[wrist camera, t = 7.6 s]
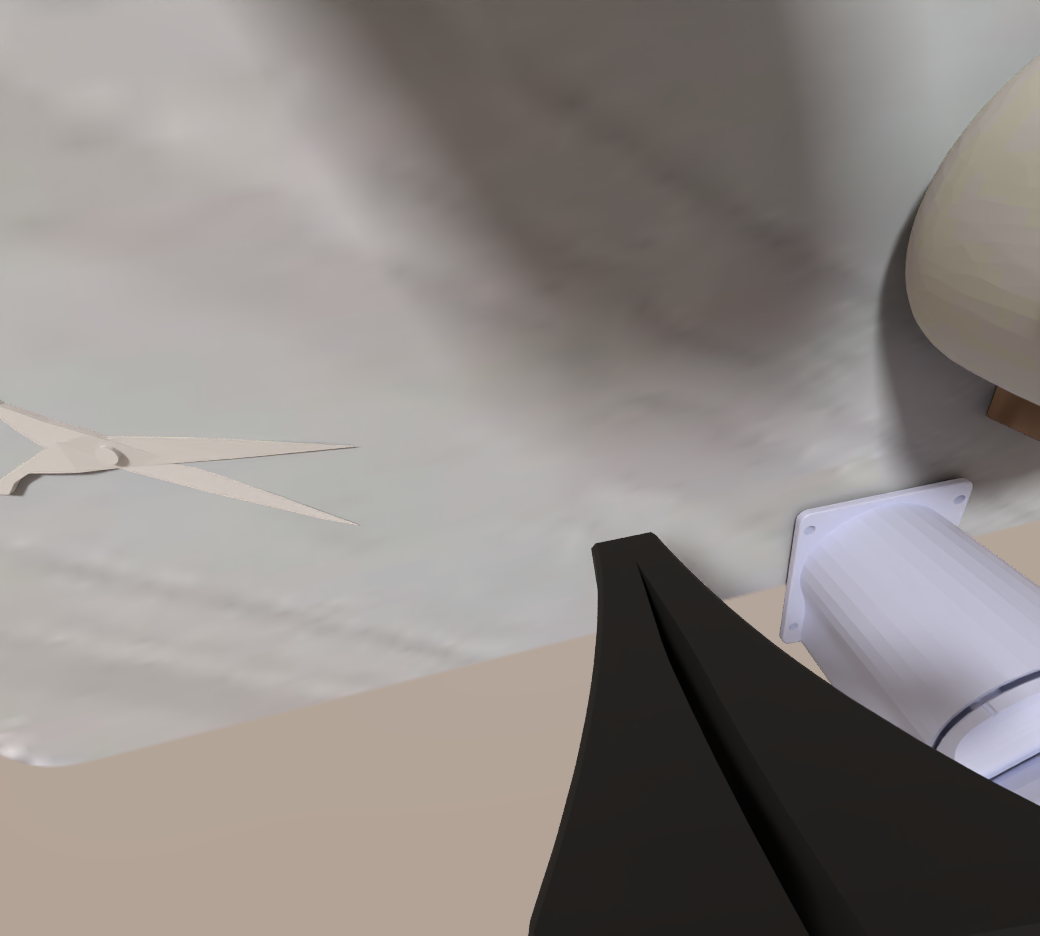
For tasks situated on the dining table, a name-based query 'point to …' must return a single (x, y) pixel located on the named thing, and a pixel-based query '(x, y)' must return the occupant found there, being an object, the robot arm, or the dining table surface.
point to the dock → (1015, 413)
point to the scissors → (147, 457)
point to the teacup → (985, 244)
